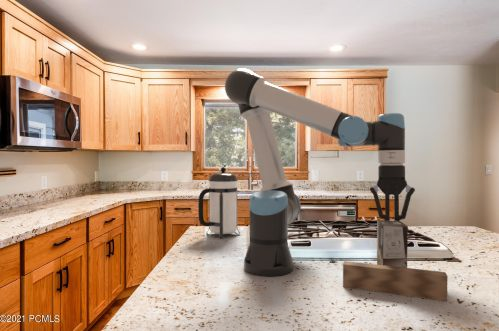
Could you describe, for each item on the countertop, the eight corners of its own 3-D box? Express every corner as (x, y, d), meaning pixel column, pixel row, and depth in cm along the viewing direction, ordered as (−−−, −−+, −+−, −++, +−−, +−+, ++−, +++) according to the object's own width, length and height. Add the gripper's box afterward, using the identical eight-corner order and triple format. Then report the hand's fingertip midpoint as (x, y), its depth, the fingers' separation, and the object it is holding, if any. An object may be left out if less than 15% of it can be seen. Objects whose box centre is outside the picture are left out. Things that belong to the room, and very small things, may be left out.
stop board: (342, 286, 88) (343, 264, 88) (344, 282, 91) (344, 260, 91) (447, 301, 80) (447, 276, 79) (444, 296, 82) (445, 272, 82)
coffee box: (407, 287, 88) (408, 226, 88) (382, 285, 89) (382, 225, 89) (399, 275, 97) (400, 220, 97) (376, 273, 98) (376, 219, 98)
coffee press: (208, 230, 157) (208, 166, 156) (242, 231, 155) (242, 166, 154) (198, 239, 140) (197, 167, 139) (235, 240, 137) (235, 167, 137)
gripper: (368, 165, 101) (369, 242, 102) (416, 164, 96) (417, 246, 97) (369, 164, 108) (370, 237, 109) (414, 164, 103) (414, 240, 104)
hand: (392, 241), depth 103 cm, fingers closed
